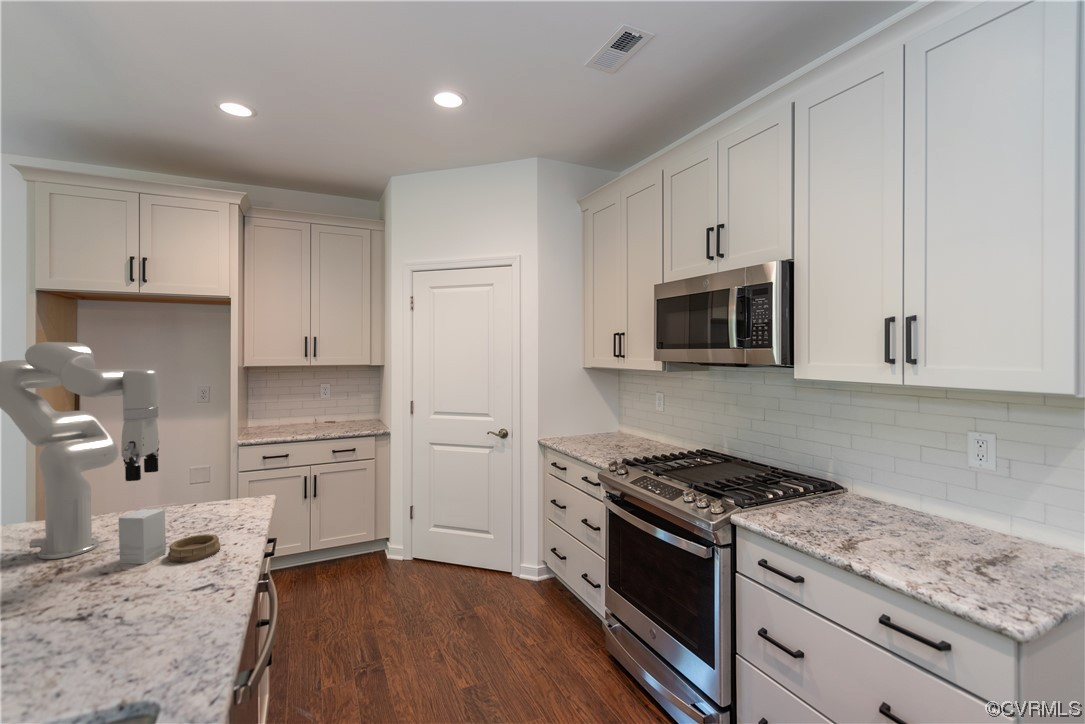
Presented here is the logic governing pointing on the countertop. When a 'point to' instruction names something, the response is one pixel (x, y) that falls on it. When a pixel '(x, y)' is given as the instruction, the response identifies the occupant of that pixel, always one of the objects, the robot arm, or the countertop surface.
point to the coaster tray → (194, 558)
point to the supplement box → (142, 536)
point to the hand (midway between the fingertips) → (142, 476)
